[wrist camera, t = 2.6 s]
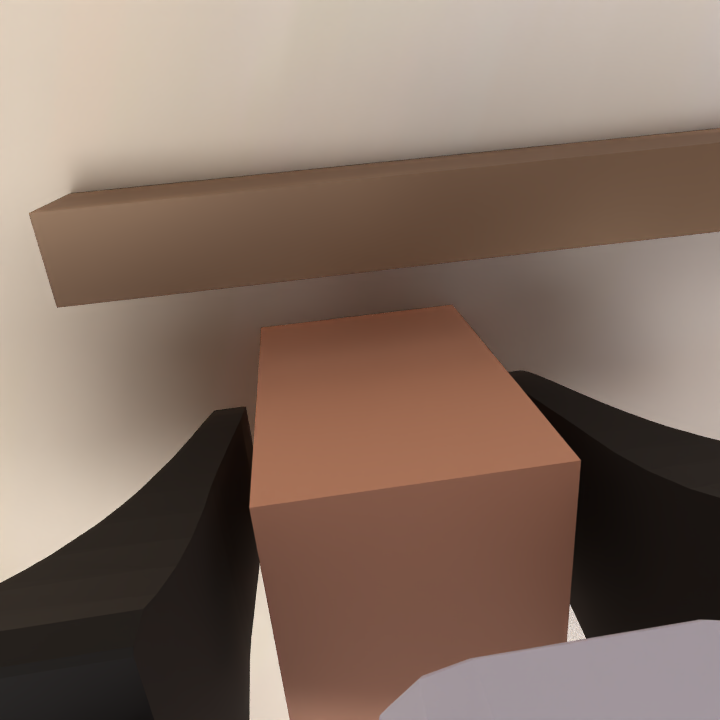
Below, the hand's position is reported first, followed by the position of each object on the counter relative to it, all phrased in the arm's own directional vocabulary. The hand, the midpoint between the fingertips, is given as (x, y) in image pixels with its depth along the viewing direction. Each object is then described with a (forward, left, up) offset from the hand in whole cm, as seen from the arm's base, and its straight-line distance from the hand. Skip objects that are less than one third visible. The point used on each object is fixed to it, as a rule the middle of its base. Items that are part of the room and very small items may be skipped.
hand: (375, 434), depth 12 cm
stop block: (0, 0, -2) cm, 2 cm away
